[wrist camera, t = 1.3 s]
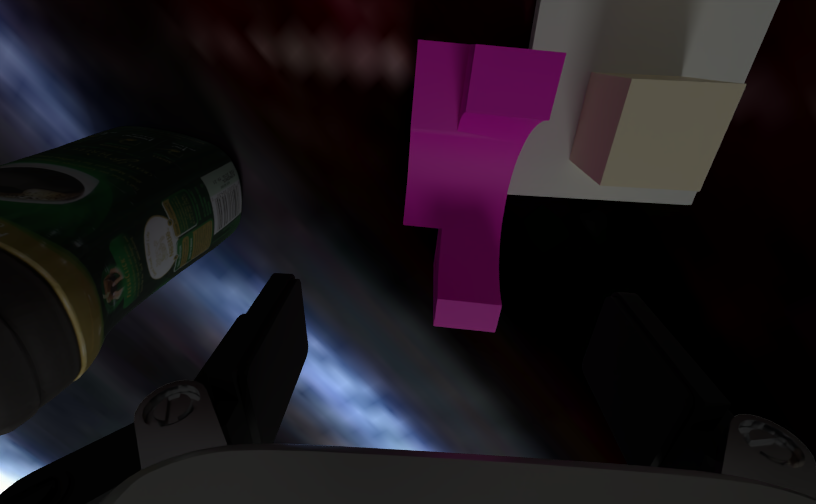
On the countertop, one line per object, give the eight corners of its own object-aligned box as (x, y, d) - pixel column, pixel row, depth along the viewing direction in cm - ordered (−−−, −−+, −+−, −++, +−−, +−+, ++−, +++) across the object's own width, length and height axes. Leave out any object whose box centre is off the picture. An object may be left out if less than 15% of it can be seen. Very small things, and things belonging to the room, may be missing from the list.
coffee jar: (125, 219, 29) (-274, 442, 13) (103, 113, 25) (-511, 237, 9) (250, 243, 29) (18, 491, 13) (248, 142, 25) (-86, 314, 9)
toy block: (421, 40, 22) (415, 38, 15) (527, 51, 22) (566, 52, 15) (401, 260, 29) (392, 321, 23) (481, 268, 29) (495, 332, 23)
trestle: (870, -250, 16) (1090, -399, 10) (682, 199, 25) (747, 239, 20) (580, -255, 16) (651, -401, 11) (504, 189, 26) (522, 225, 20)
